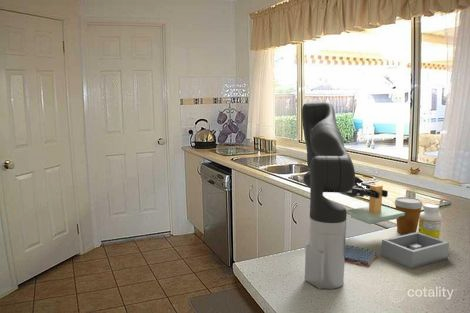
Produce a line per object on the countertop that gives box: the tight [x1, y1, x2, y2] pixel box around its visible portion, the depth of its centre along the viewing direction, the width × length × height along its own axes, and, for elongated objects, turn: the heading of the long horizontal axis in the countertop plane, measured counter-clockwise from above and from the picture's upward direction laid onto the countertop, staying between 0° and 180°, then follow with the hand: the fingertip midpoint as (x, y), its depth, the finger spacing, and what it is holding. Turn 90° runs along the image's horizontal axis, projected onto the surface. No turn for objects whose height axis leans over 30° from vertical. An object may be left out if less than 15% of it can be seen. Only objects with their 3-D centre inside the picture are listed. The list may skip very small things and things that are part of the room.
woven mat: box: [344, 244, 378, 268], centre depth 119 cm, size 10×11×2 cm
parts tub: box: [380, 231, 450, 270], centre depth 119 cm, size 16×11×5 cm
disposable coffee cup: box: [393, 196, 424, 235], centre depth 141 cm, size 10×10×12 cm
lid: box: [346, 183, 405, 225], centre depth 131 cm, size 16×11×11 cm
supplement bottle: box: [417, 203, 443, 240], centre depth 130 cm, size 7×7×13 cm
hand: (382, 194), depth 128 cm, fingers closed on lid, 3 cm apart
